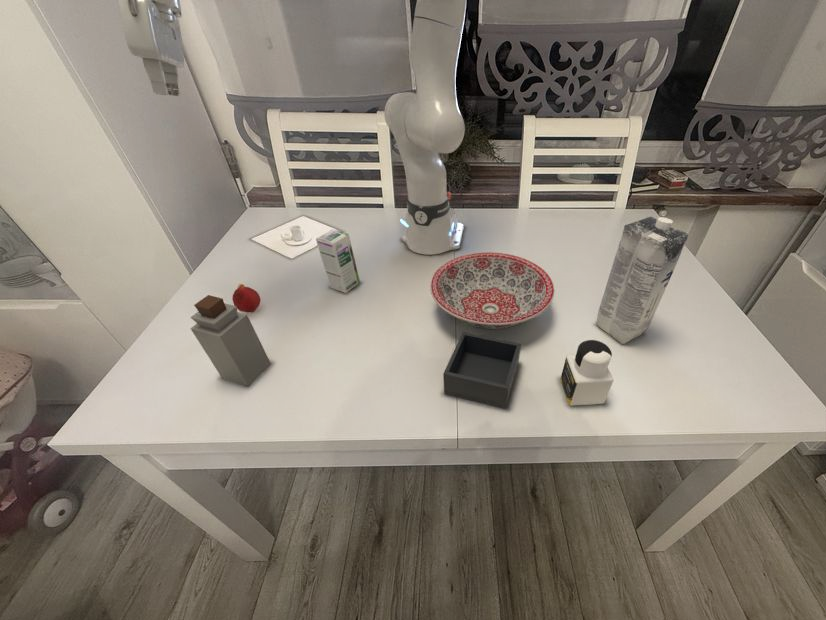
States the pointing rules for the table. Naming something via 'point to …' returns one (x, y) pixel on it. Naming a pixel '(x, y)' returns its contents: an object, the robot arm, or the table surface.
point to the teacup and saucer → (293, 236)
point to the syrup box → (338, 260)
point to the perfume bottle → (229, 340)
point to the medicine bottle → (587, 374)
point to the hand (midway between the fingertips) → (168, 95)
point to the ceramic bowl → (492, 289)
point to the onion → (246, 299)
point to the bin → (482, 369)
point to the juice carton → (639, 276)
